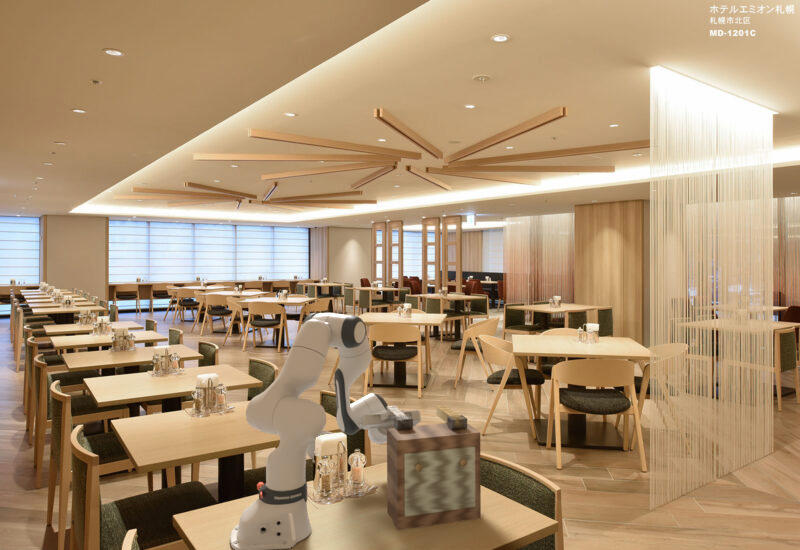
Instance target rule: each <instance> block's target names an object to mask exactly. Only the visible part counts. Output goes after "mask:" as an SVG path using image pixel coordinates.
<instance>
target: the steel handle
mask: <svg viewBox="0 0 800 550" xmlns="http://www.w3.org/2000/svg"><path fill="white" fill-rule="evenodd" d="M389 411H391V418H390V419H391V420H392V421H393V422H394V427H395V428H396V429H397V430H404V429H413V418H412V417H410V416H406V415H405V414H404V413H403V412H402V411H401V409H400V408H398V406H397V405H388V406H387V412H389Z"/></svg>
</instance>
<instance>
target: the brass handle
mask: <svg viewBox="0 0 800 550" xmlns="http://www.w3.org/2000/svg"><path fill="white" fill-rule="evenodd" d="M435 407H436V409H435V414H436V416H437V417H438V418H440V419H441V420H442V421H444V422H445V423H447V426H448V427H449V428H450V429H452V430H456V429H466V428H467V423H468V418H467V417H465V416H464V415H462V414H461V415H459V414H458V413H457V412H455V411H453V410H452V409H450V408H449V407H448V406H447V405H445V404H444V405H436V406H435Z"/></svg>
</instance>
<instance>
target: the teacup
mask: <svg viewBox="0 0 800 550" xmlns="http://www.w3.org/2000/svg"><path fill="white" fill-rule="evenodd" d="M332 433H333V432H331V431H327V430H323V431H322V433H321V434H320V435H324V434H332ZM320 435H319V436H320ZM314 451H315V439H314V440H313V441H312V442H311V444H310V446H309V448H308V451H307V455H308V457H309V458H310V459H311V462H312V463H314V464H316V463H315V460H314Z"/></svg>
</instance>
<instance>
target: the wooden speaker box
mask: <svg viewBox="0 0 800 550" xmlns="http://www.w3.org/2000/svg"><path fill="white" fill-rule="evenodd" d="M386 470H387V471H386V476H387V477H386V480H387V481H386V486H387V487H386V488H387V489H386V492H387V493H386V496H387V497H386V498H387V501H386V503H387V509H386V510H387V514H388V516H389V517H390V519H391V521H392V522H393V525H394V526H395V528H396V530H397V531H403V530H408V529H409V530H411V529H417V528H422V527H429V526H436V525H443V524H450V523H457V522H464V521H469V520H471V521H472V520H477V519H481V518H482V515H481V514H482V513H481V511H482V510H481V508H482V507H481V506H482V504H481V503H482V502H481V498H482V496H481V493H482V491H481V484H482V483H481V479H482V478H481V432H480V431H479V430H477V429H476V428H475V427H473V426H472V425H471V424H469V423H468V422H467V428H466V429H456V430H452V429H450V428H449V427H448V426H447V423H446V422H445V423H434V424H425V425H424V424H423V425H416V426H413V429H404V430H397V429H396V428H389V429H387V442H386Z"/></svg>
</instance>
